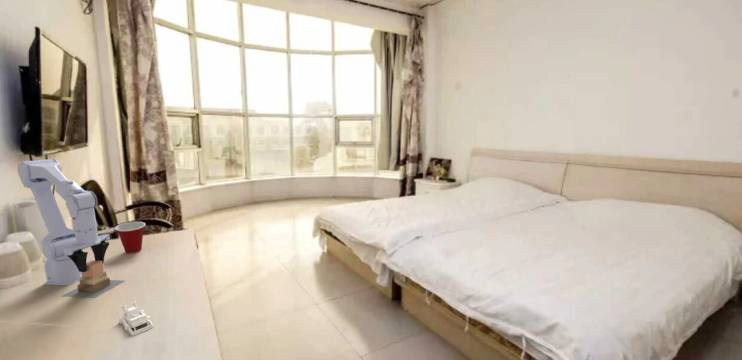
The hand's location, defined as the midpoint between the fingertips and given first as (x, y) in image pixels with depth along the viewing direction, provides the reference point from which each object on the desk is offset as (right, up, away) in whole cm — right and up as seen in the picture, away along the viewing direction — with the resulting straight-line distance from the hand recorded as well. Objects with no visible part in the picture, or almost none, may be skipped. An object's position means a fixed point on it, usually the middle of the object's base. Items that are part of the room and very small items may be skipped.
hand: (91, 267), depth 113 cm
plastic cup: (-11, -2, +35) cm, 37 cm away
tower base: (0, -7, +1) cm, 7 cm away
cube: (0, -2, 0) cm, 2 cm away
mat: (0, -8, +1) cm, 8 cm away
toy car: (+28, -11, -18) cm, 35 cm away
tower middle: (0, -5, +1) cm, 5 cm away
